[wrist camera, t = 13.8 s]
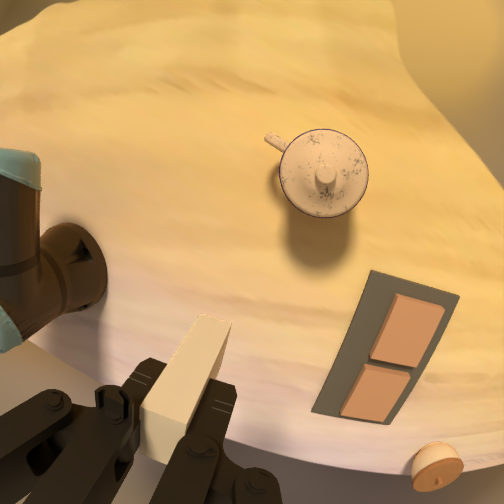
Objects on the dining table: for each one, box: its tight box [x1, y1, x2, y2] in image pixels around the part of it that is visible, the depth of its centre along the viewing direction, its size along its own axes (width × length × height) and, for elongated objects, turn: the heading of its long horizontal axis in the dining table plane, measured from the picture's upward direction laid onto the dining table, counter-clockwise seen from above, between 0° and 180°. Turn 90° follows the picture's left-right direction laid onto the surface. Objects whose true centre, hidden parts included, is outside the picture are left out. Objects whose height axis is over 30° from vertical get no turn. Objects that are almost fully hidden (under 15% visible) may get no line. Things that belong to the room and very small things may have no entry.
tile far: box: [340, 364, 411, 422], centre depth 45 cm, size 2×10×8 cm
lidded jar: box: [411, 442, 464, 492], centre depth 44 cm, size 11×11×9 cm
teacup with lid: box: [264, 129, 369, 218], centre depth 34 cm, size 12×9×12 cm
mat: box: [311, 270, 460, 425], centre depth 44 cm, size 15×26×1 cm, turn 167°
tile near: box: [369, 293, 445, 367], centre depth 41 cm, size 2×10×8 cm
